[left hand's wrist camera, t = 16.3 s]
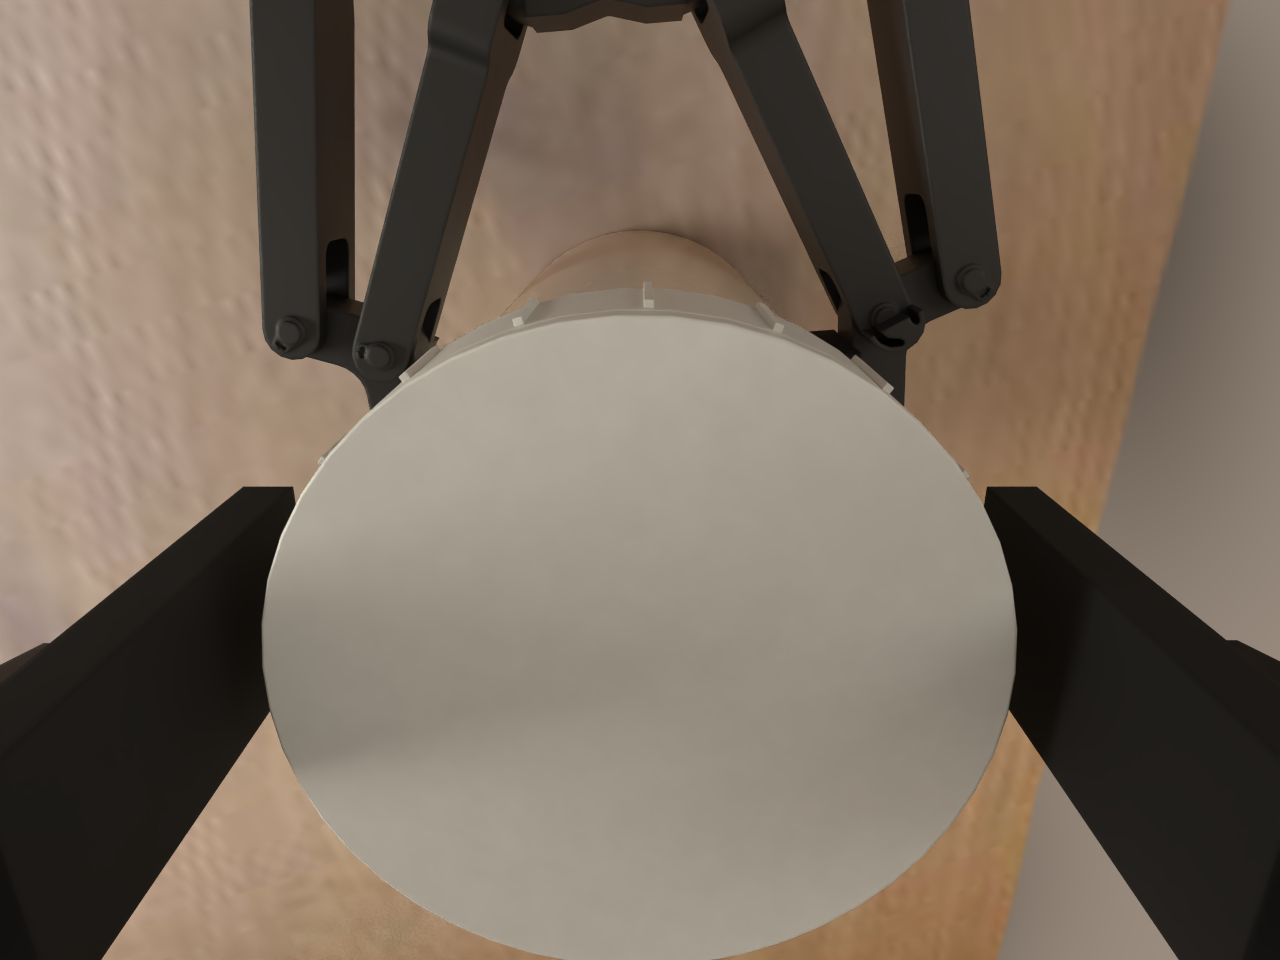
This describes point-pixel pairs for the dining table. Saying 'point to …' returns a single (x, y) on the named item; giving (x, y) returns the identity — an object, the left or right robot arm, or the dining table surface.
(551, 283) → the jar
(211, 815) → the dining table surface
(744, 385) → the lid
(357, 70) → the dining table surface
